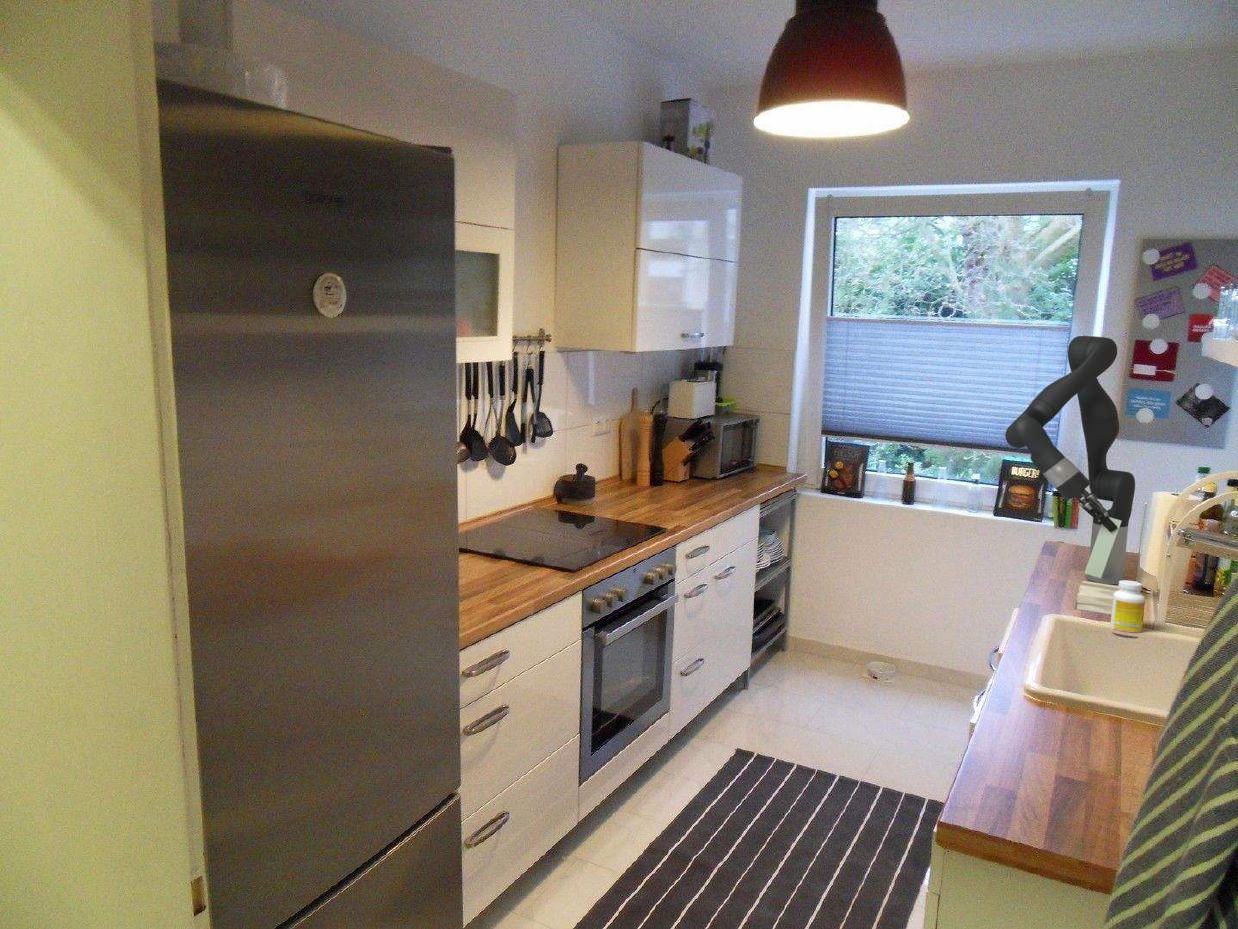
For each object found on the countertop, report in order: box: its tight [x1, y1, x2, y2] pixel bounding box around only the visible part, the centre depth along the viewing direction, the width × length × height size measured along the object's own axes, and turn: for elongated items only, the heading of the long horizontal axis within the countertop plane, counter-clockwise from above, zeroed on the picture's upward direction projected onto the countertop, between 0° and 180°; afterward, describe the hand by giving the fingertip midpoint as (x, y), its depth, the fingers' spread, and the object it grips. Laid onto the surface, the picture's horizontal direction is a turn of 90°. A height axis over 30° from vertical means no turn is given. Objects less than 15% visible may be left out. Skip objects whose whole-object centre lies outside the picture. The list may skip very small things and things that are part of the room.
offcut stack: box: [1076, 580, 1120, 615], centre depth 224 cm, size 7×10×6 cm
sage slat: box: [1084, 517, 1121, 578], centre depth 228 cm, size 2×4×16 cm, turn 59°
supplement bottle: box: [1109, 579, 1146, 639], centre depth 207 cm, size 7×7×13 cm
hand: (1114, 529), depth 227 cm, fingers closed on sage slat, 1 cm apart
